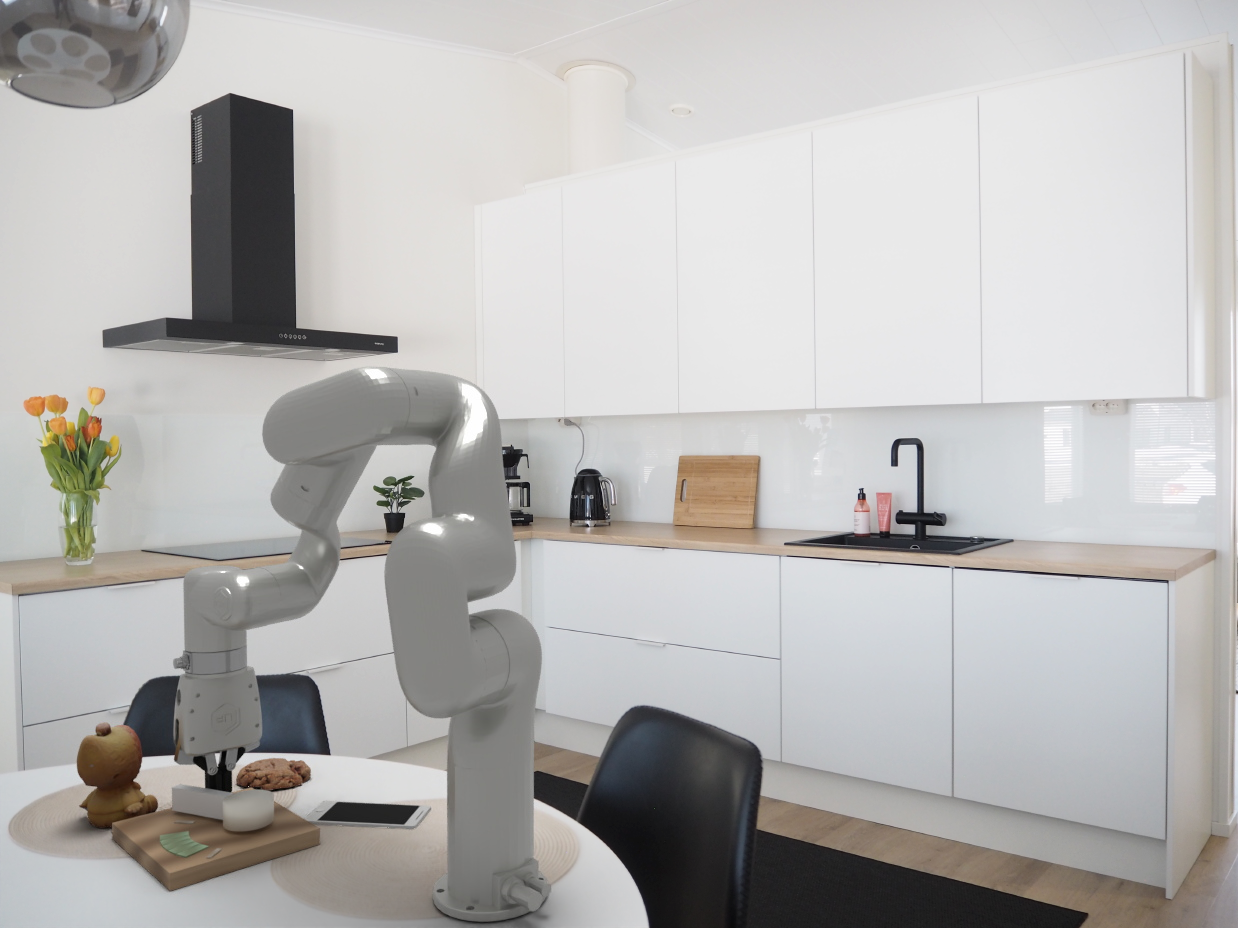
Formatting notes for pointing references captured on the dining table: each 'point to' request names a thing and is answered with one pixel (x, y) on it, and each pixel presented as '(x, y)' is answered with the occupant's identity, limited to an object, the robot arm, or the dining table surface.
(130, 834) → the tuner board
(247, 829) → the peg dial
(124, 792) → the figurine
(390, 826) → the smartphone
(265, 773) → the cookie
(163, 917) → the dining table surface
